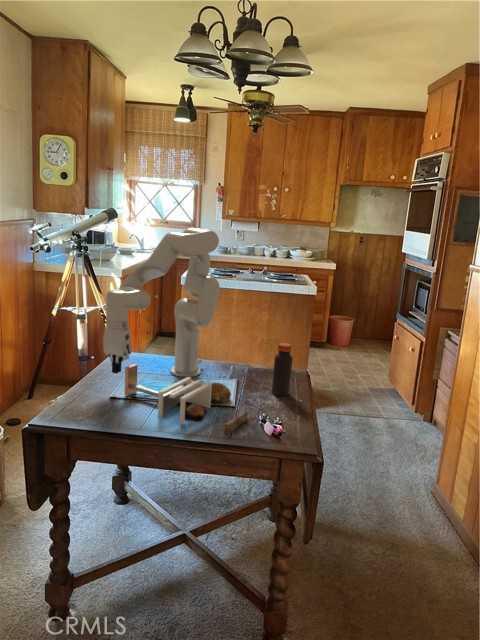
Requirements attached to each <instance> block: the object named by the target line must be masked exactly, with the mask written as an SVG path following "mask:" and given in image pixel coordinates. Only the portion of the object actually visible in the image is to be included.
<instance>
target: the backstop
mask: <svg viewBox="0 0 480 640" xmlns="http://www.w3.org/2000/svg"><path fill="white" fill-rule="evenodd" d="M247 418H248V411H247V410H243V411H242V412H240V413H238V414H237V415H236V416H235V417H233V418H232V419H230V420H229V421H227V422H226V423H225V424H224V432H223V433H224V434H227V435H229V434H230V433H231V432H233V431H234V430H235V429H236V428H238V427H239V426H240V425H241V424H243V423H244V422H245V421H246V420H248V419H247Z"/></svg>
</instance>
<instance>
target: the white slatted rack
mask: <svg viewBox="0 0 480 640" xmlns="http://www.w3.org/2000/svg"><path fill="white" fill-rule="evenodd" d="M181 385H183V386H185V387H183V388H181V389H179V390H177V391H175V392H173V393H171V394H169V397H170V398H174V397H176V396H178V395H180V394H182V393H184V396H182V397H181V398H180V401H181V403H180V405H179V406H180V407H179V425H184V424H185V421H186V420H185V408H186V402H188V403H190V404H198V405H200V406H202V407H203V408H206V409H207V408H208V409H210V408H211V389H212V382H206V383H203V382H202V379H197V380H192V377H184V378H183V379H181V380H179V381H177V382H175V383H173V384H171V385H169V386H166V387H164V388H163V389H160V390H159V391H158V392H159V397H158V406H157V417H159V418H163V415H164V412H163V395H164V394H166V393H168V392H170V391H171V390H173V389H175V388H177V387H179V386H181Z"/></svg>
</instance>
